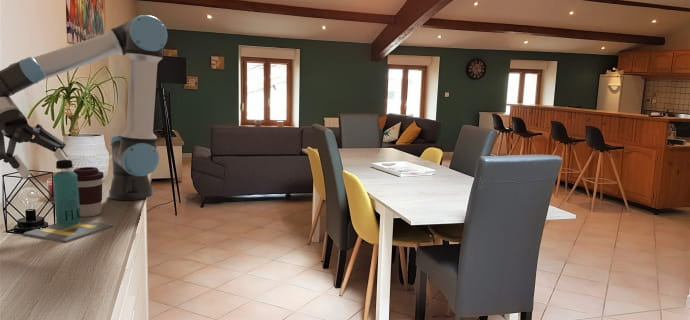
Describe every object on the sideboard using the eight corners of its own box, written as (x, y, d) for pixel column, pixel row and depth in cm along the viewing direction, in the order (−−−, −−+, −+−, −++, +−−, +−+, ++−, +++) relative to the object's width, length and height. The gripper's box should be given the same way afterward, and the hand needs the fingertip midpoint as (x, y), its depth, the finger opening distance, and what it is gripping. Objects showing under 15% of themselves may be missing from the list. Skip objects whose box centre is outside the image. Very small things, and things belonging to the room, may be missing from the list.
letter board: (72, 220, 155) (72, 218, 155) (112, 226, 150) (112, 224, 150) (23, 234, 141) (23, 232, 141) (65, 242, 135) (65, 240, 135)
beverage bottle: (64, 233, 141) (58, 163, 137) (51, 228, 144) (46, 160, 141) (86, 227, 146) (82, 160, 143) (73, 223, 150) (68, 157, 146)
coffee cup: (90, 219, 156) (87, 172, 154) (64, 216, 159) (60, 170, 156) (112, 211, 166) (109, 167, 163) (87, 209, 168) (84, 165, 166)
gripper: (39, 121, 159) (78, 172, 157) (-44, 129, 136) (0, 188, 134) (50, 105, 156) (90, 156, 154) (-33, 110, 133) (13, 170, 131)
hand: (49, 171), depth 144 cm, fingers open, 13 cm apart
